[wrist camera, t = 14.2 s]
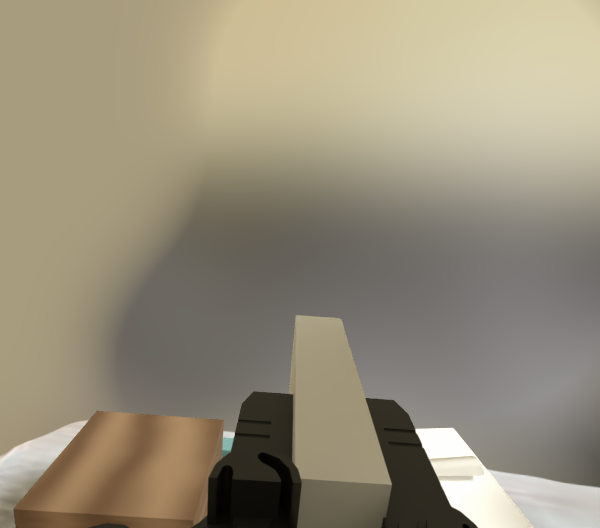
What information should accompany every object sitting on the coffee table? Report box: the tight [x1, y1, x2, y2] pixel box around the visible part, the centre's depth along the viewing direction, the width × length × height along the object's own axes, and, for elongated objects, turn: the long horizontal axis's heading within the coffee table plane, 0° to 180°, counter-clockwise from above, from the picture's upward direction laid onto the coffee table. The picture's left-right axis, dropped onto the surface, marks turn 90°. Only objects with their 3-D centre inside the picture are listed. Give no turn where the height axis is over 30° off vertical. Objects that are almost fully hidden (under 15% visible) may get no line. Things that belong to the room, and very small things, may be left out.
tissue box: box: [415, 428, 534, 528], centre depth 41 cm, size 14×25×11 cm, turn 98°
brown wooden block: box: [14, 411, 224, 528], centre depth 35 cm, size 14×12×8 cm
